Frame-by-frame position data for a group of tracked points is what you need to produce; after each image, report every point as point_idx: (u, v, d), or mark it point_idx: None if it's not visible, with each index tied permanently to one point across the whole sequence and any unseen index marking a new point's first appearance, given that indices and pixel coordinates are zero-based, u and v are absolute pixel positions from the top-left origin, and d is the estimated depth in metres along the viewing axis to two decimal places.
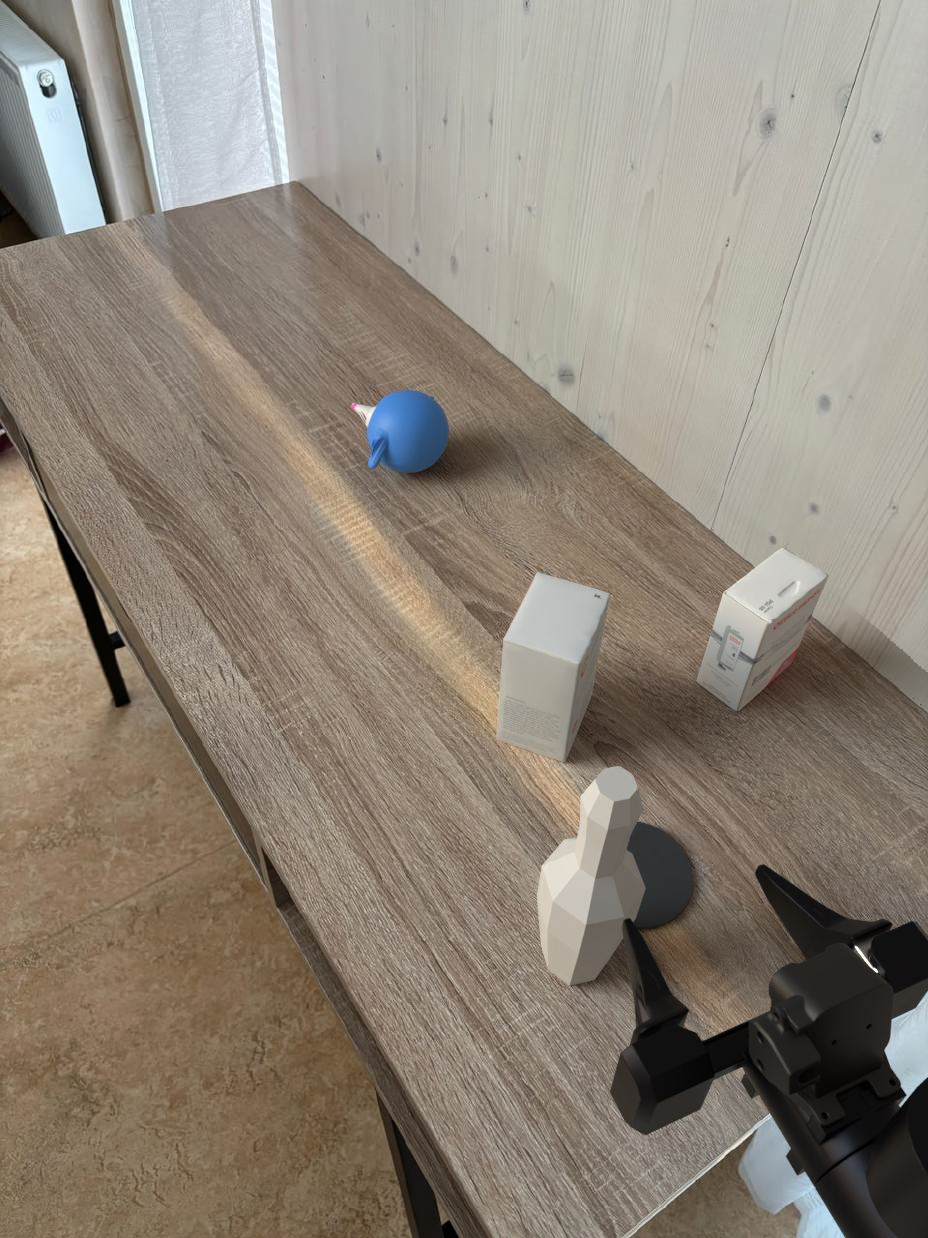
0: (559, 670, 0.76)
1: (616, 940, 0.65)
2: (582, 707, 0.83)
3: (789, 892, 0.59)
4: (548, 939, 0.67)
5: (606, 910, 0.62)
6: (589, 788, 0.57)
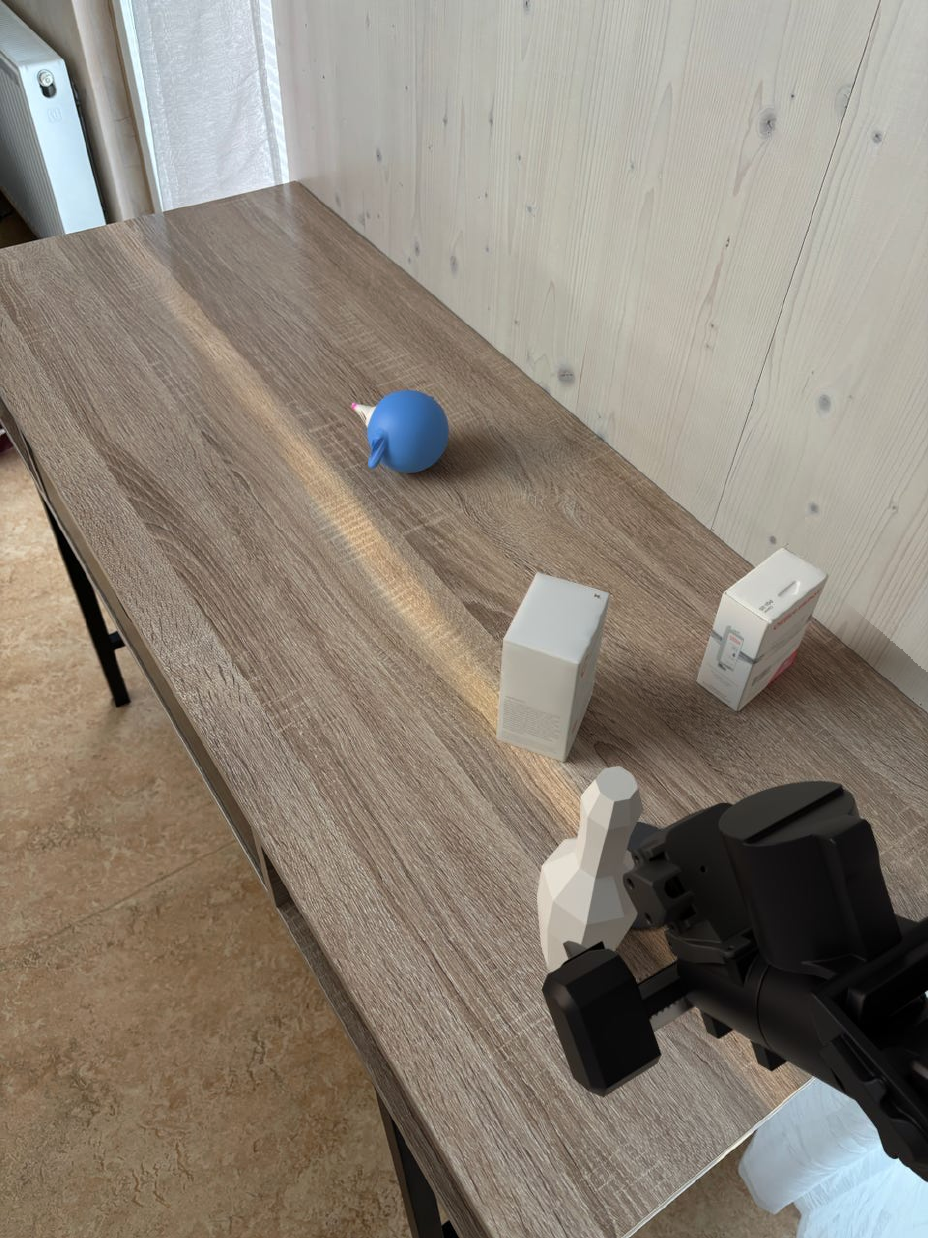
0: (559, 670, 0.76)
1: (616, 940, 0.65)
2: (582, 707, 0.83)
3: None
4: (548, 939, 0.67)
5: (606, 910, 0.62)
6: (589, 788, 0.57)
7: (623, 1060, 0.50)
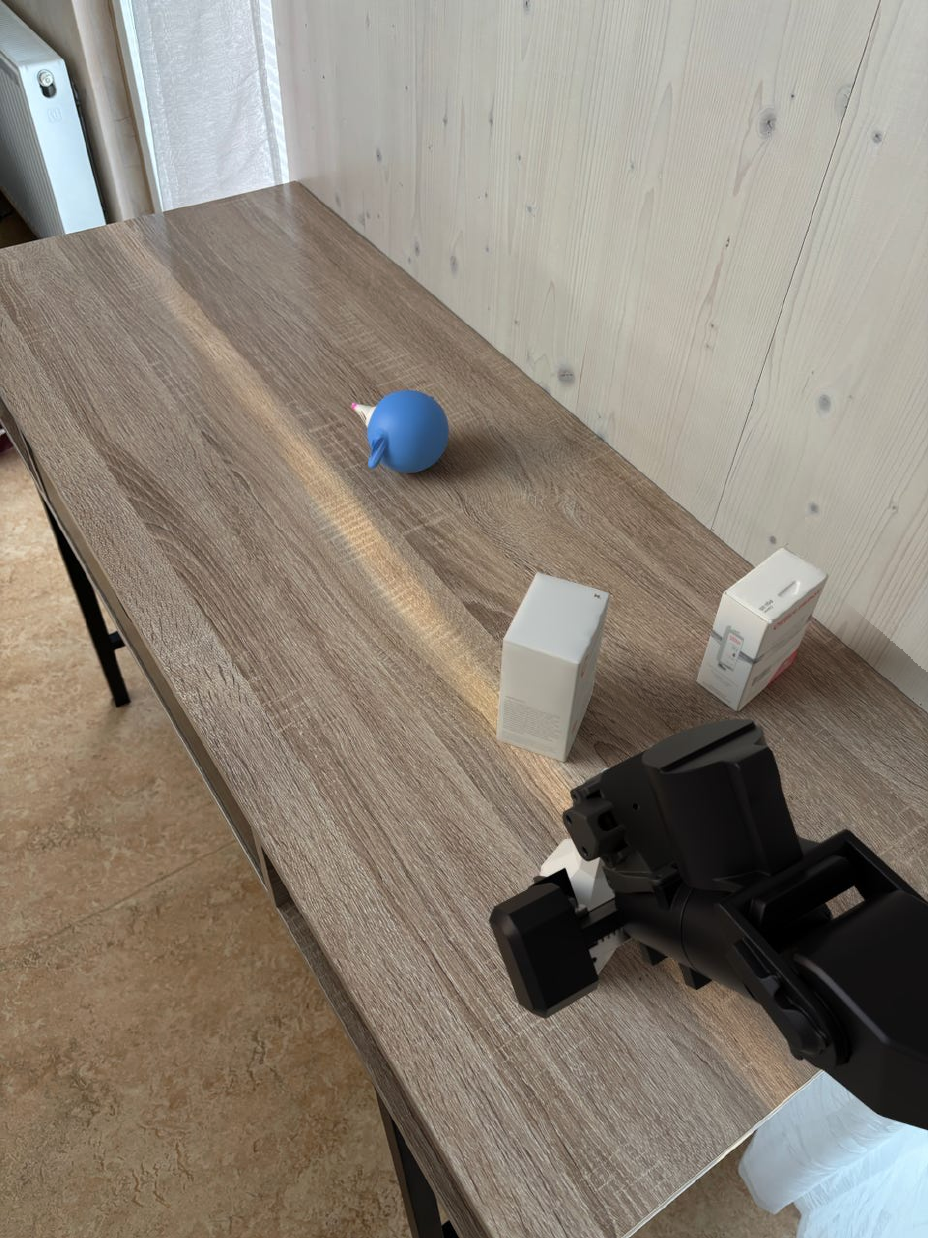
0: (559, 670, 0.76)
1: None
2: (582, 707, 0.83)
3: None
4: None
5: None
6: None
7: (563, 983, 0.54)
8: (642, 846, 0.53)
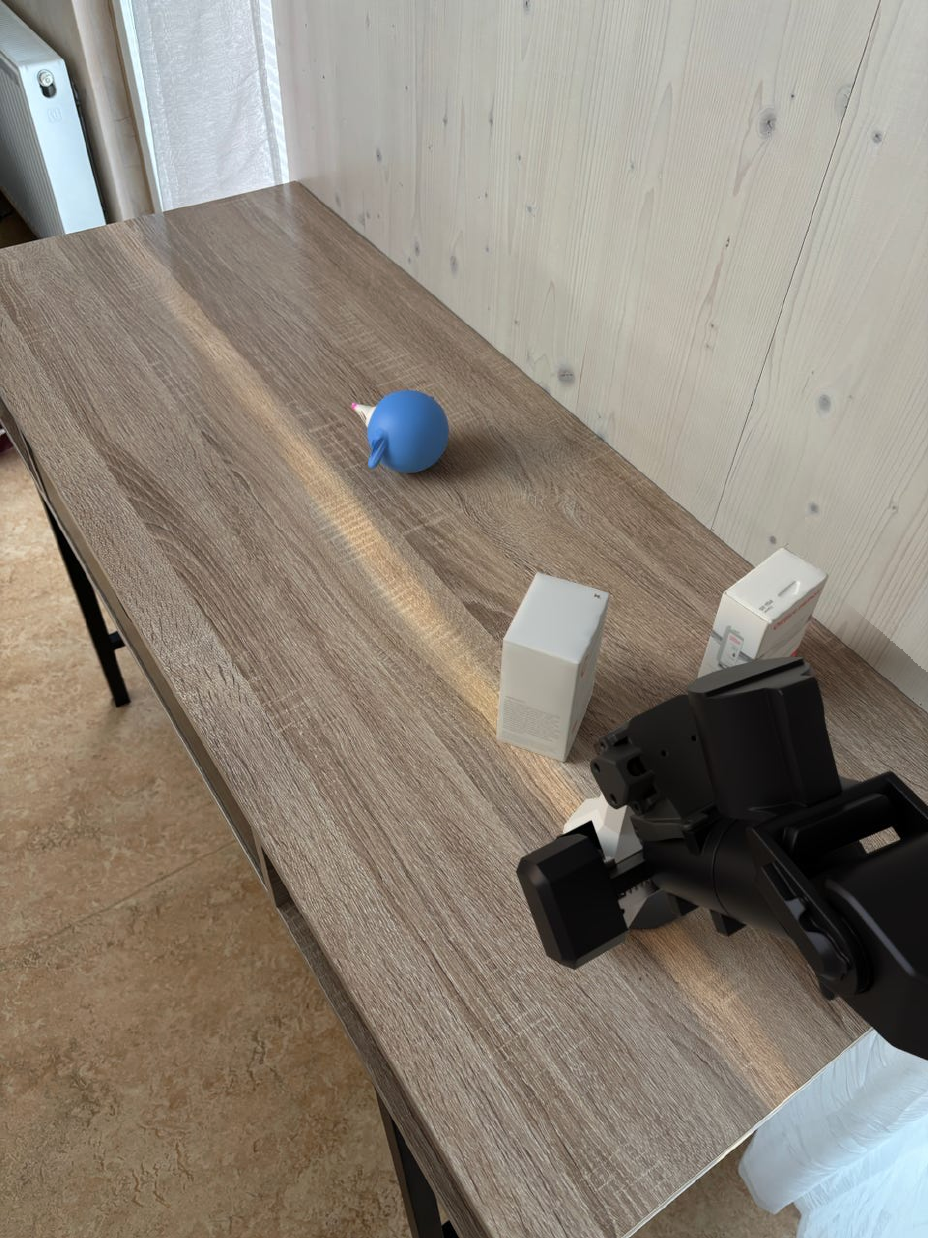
0: (559, 670, 0.76)
1: None
2: (582, 707, 0.83)
3: None
4: None
5: None
6: None
7: (592, 933, 0.53)
8: (671, 792, 0.52)
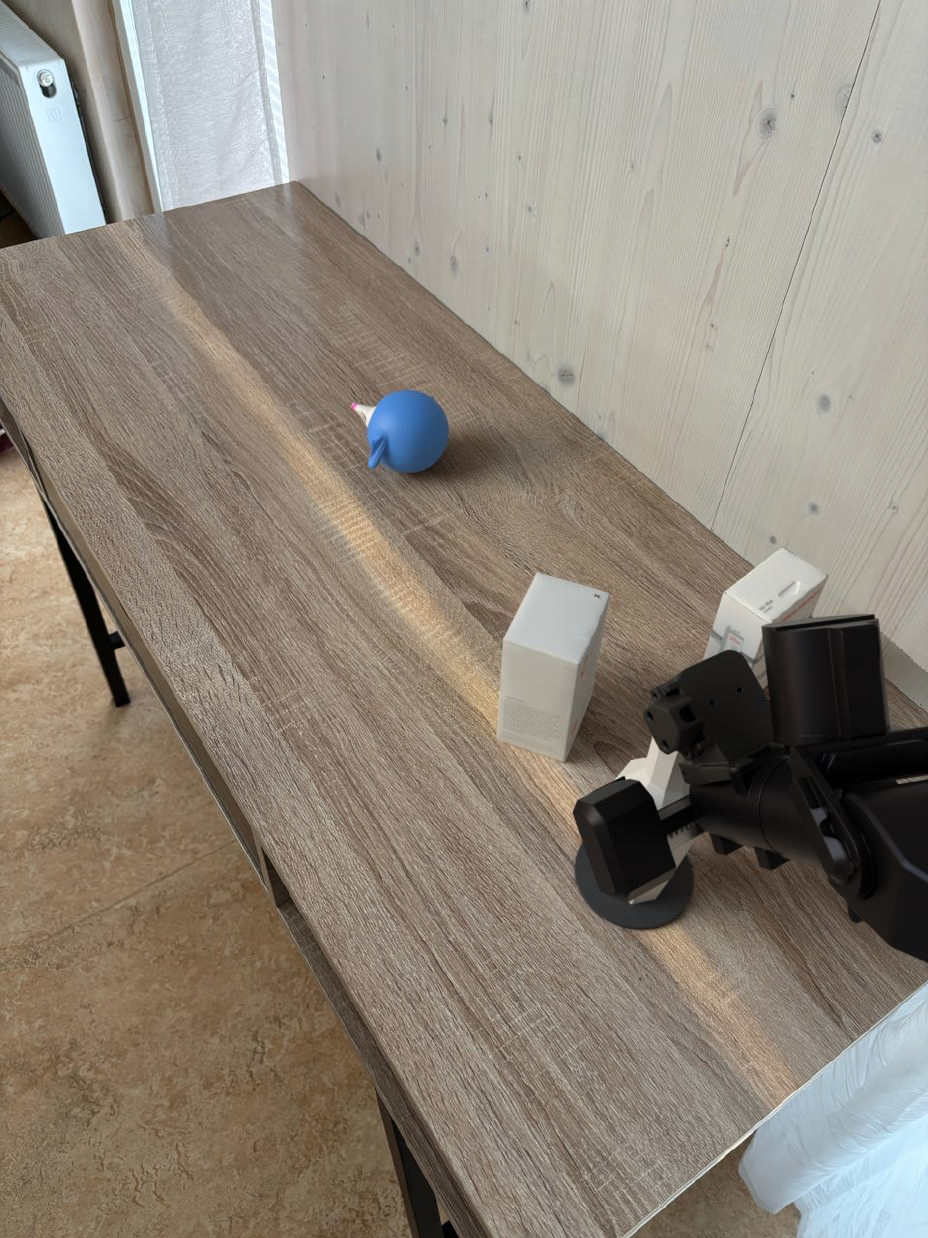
0: (559, 670, 0.76)
1: (681, 854, 0.69)
2: (582, 707, 0.83)
3: None
4: None
5: None
6: None
7: (643, 869, 0.57)
8: (719, 739, 0.56)
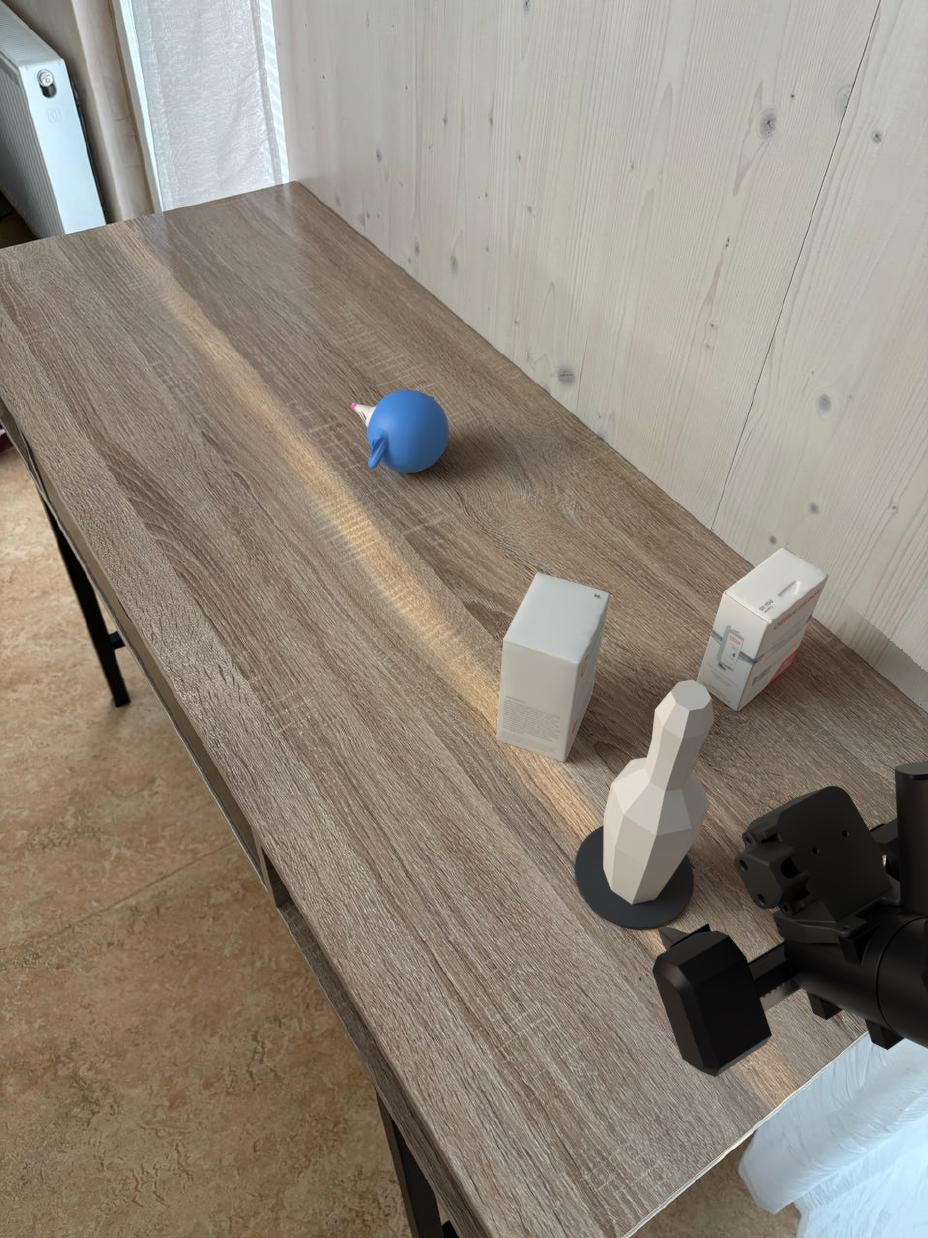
0: (559, 670, 0.76)
1: (681, 854, 0.69)
2: (582, 707, 0.83)
3: None
4: (615, 856, 0.71)
5: (675, 821, 0.66)
6: (664, 700, 0.61)
7: (736, 1040, 0.50)
8: (824, 894, 0.49)
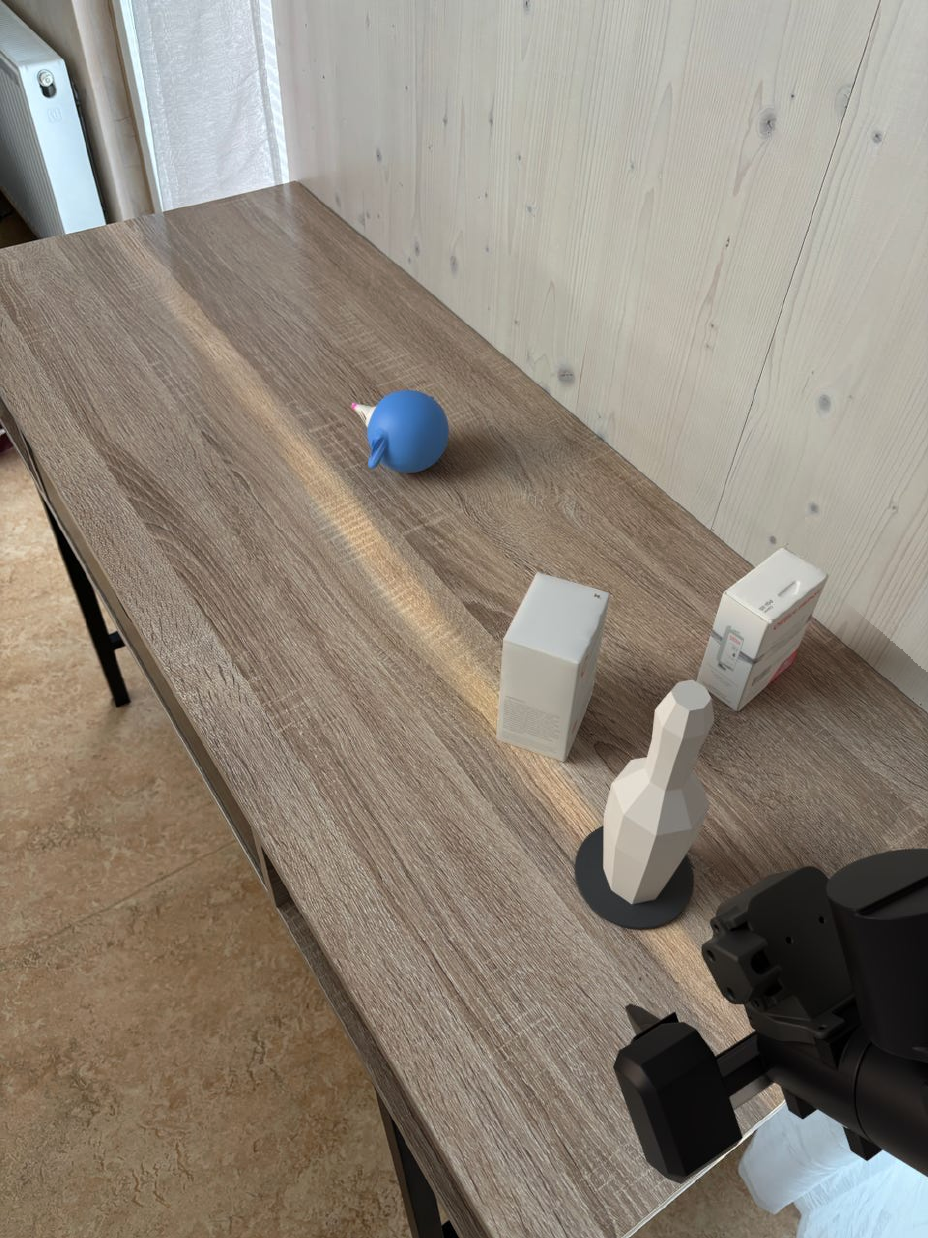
0: (559, 669, 0.76)
1: (681, 854, 0.69)
2: (582, 707, 0.83)
3: None
4: (615, 856, 0.71)
5: (675, 821, 0.66)
6: (664, 700, 0.61)
7: (703, 1145, 0.46)
8: (799, 988, 0.45)
